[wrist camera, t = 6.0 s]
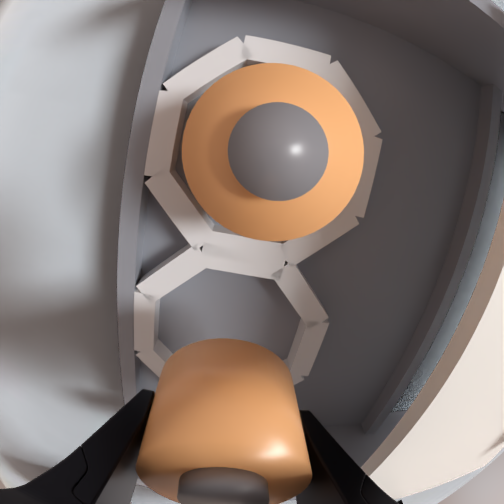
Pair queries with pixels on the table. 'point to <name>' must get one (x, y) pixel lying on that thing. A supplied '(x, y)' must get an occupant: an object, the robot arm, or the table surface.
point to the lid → (454, 398)
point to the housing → (340, 228)
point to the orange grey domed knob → (272, 152)
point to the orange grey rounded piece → (224, 428)
